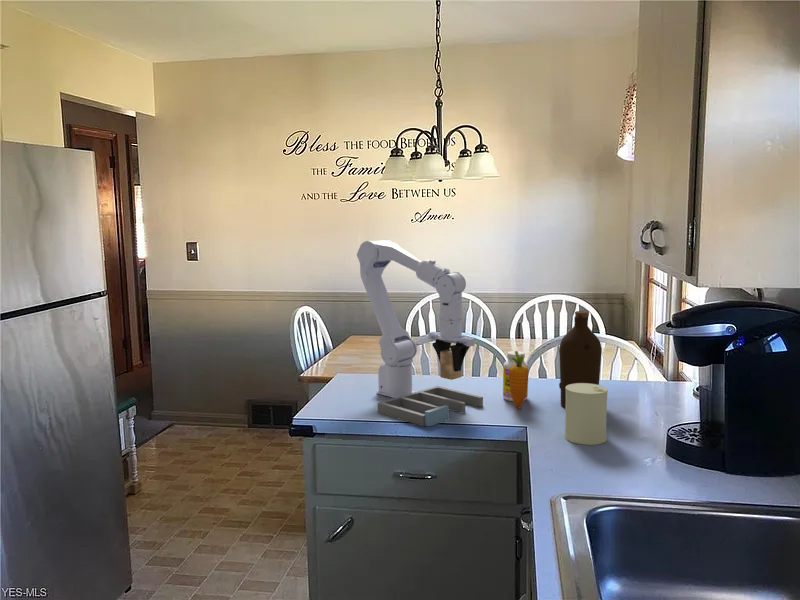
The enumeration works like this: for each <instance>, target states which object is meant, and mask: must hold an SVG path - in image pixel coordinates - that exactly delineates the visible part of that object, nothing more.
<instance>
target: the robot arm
mask: <svg viewBox="0 0 800 600" xmlns="http://www.w3.org/2000/svg"><path fill="white" fill-rule="evenodd" d="M356 257H357V259H358V262H359V270H360V271H359V272H360V273H359V275H360V278H361V281H362V283H363V286H364V289H365V292H366V294H367V296H368V297H367V298H368V299H369V302H370V304H371V307H372V309H373V312H374V316H375V317H376V321H377V323H378V325H379V326H378V327H379V328H380V331H381V334H382V335H381V337H380V339H379V340H378V343H379V347H380V356H381V359H382V361H383V362H382V363H381V364H380V365H379V367H378V373H377V374H378V377H377V378H378V380H377V381H378V390H377V391H376V394H378V395H382V396H386V397H389V398H391V399H393V398H396V397H400V396H403V395H407V394H410V393H414V392H417V391H415V390H413V362H414V361H413V360H414V357H416V355H417V351H418V348H417V345H416V343H415V340H414V339H412V338H411V336H410V333H409V332H408V331H407V330H405V329H404V328H403V327H401V325H400V321H399V320H398V317H397V314H396V310H395V309H394V306H393V303H392V301H391V299H390V296H389V293H388V291H387V288H386V285H385V282H384V280H383V277H382V275H383V273H384V271H385V269H386V268H387V266H389V264H390V263H391V262H392V261H393V262H395V263H396V264H399V265H401V266H403V267H405V268H407V269H409V270H411V271H413V272H415V276H416V278H417V279H419V280H420V281H421V282H424V283H425V284H427V285H429V286H431V287H433V288H434V289H435V290H436V292H437V294H438V296H439V297H438V298H439V331H429V332H428V339H427V340H429V341H432V340H433V341H434V340H435V342H432V344H431V345H432V347H433V349H434V351H435V353H436V355H437V357H438V362H439V363H440V351H445V350H449V349H451V351H452V356H453V368H454V371H455V372H457V371H461V367H462V366H463V363H464V360H465V357H466V354H467V353H468V350H469V349H470V348H471V347H474V346H475V345H476V344H475V337H470V336H467V335H464V334H462V333H463V328H462V327H463V313H462V312H463V309H462V308H463V299H462V298H463V295H462V294H463V292H464V291H465V289H466V286H467V283H466V279H465V277H464V276H463V275H462V274H461V273H460V272H459V271H454V272H451V271H450V268H447V267H445V268H444V267H442V266H440V265H439V264H437V263H436V260H434V259H432V258H431V259H424V260H421V259H419V258H418V257H416V256H415V255H413V254H412V253H410V252H408V251H407V250H405V249H404V248H402V247H401V246H399V245H398V243H396V242H392V241H391V240H390V239H382V240H365V241H363V242H362V243H361V244H360V246H359V248H358V250H357V253H356ZM452 344H453V345H452Z"/></svg>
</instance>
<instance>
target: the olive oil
mask: <svg viewBox="0 0 800 600" xmlns="http://www.w3.org/2000/svg"><path fill="white" fill-rule="evenodd" d="M574 315H575V316H574V325H573V326H572V328H571V329H570V330H569V331H568V332H567V333H566V334H564V336H563V337H562V339H561V340H560V343H559V348H558V349H559V351H558V354H559V377H560V379H559V384H558V387H559V389H560V406H561V407H563V408H564V409H566V388H565V387H566V386H567V385H569V384H574V383H590V384H597V385H600V379H601V378H600V375H601V363H602V354H603V353H602V350H603V349H602V343H601V341H600V339H599V338H598V336H597V334H595V333H594V332H593V331H592V330H591V329H590V327H589V326H588V324H589V317H588V315H589V313H588V311H585V310H576V311H574Z"/></svg>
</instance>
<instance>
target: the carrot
mask: <svg viewBox="0 0 800 600" xmlns="http://www.w3.org/2000/svg"><path fill="white" fill-rule="evenodd" d="M514 351H515V355H516V357H517V359H516V358H515V357H511V358H512V359H513V360H514V361H515V362H516V364H517V365H514V366H512V367H510V369H509V385H510V392H511V396H512V399H513V401H512V402H513V404H514V406H515V407H516V409H518V410H519V409H520V408H521V407H522V405H523V404H524V402H525V400H524V399H525V397H526V392H527V387H528V388H529V374H530V373H529V372H530V371H529V367H528V368H527V367H525V366H523V365H522V362H523V357H524V355H523V354H521V357H519V354H518V351H519V350H514Z"/></svg>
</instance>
